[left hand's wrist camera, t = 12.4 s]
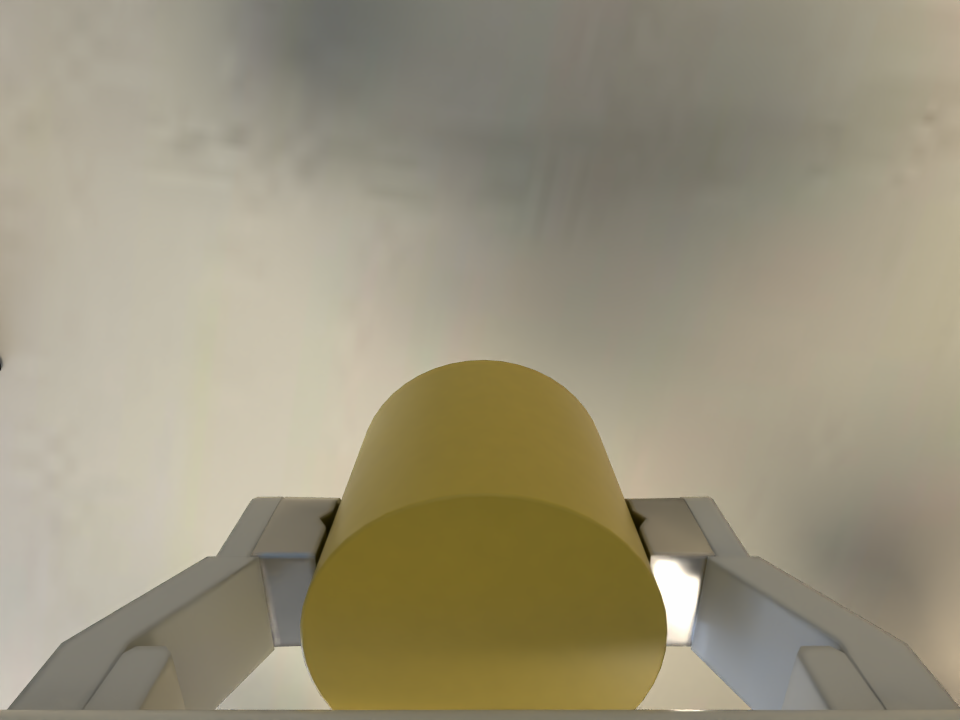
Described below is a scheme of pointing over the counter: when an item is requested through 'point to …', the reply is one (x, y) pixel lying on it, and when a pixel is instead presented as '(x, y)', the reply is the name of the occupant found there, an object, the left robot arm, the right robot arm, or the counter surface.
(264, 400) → the counter surface
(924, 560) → the counter surface
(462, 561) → the yellow cylinder
